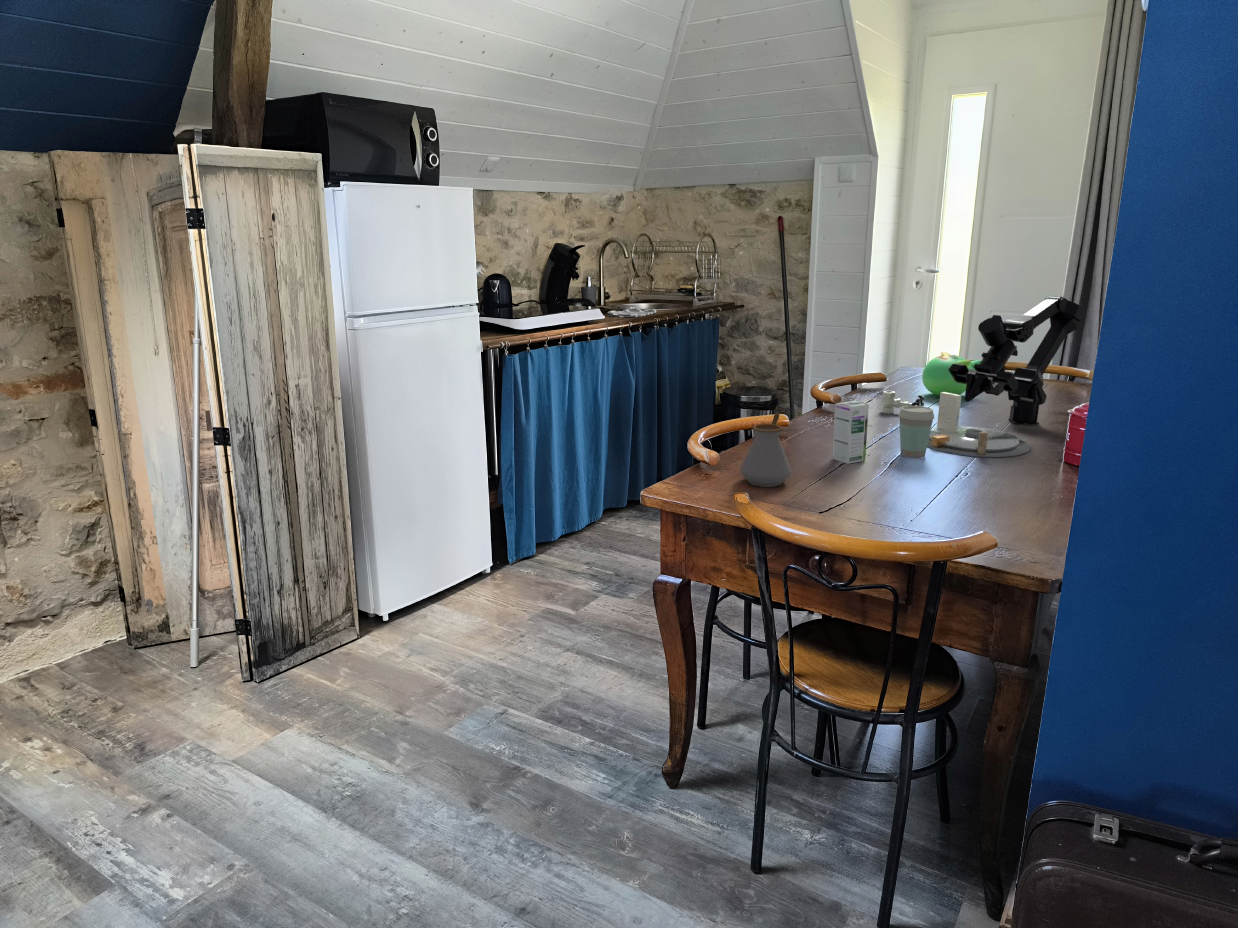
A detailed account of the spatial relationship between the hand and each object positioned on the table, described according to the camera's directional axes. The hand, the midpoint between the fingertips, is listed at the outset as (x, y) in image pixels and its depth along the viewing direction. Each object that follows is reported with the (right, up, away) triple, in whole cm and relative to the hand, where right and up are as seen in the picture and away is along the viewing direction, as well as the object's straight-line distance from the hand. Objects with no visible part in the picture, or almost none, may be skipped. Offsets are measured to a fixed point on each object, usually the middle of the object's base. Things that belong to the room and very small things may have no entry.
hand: (966, 401), depth 225 cm
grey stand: (-2, -11, -6) cm, 13 cm away
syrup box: (-38, -16, -20) cm, 46 cm away
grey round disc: (-1, -12, -6) cm, 13 cm away
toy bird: (+16, +5, +54) cm, 56 cm away
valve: (-8, -2, +29) cm, 30 cm away
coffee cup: (-20, -15, -16) cm, 30 cm away
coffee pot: (-59, -20, -32) cm, 71 cm away
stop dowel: (-4, -15, -17) cm, 23 cm away
